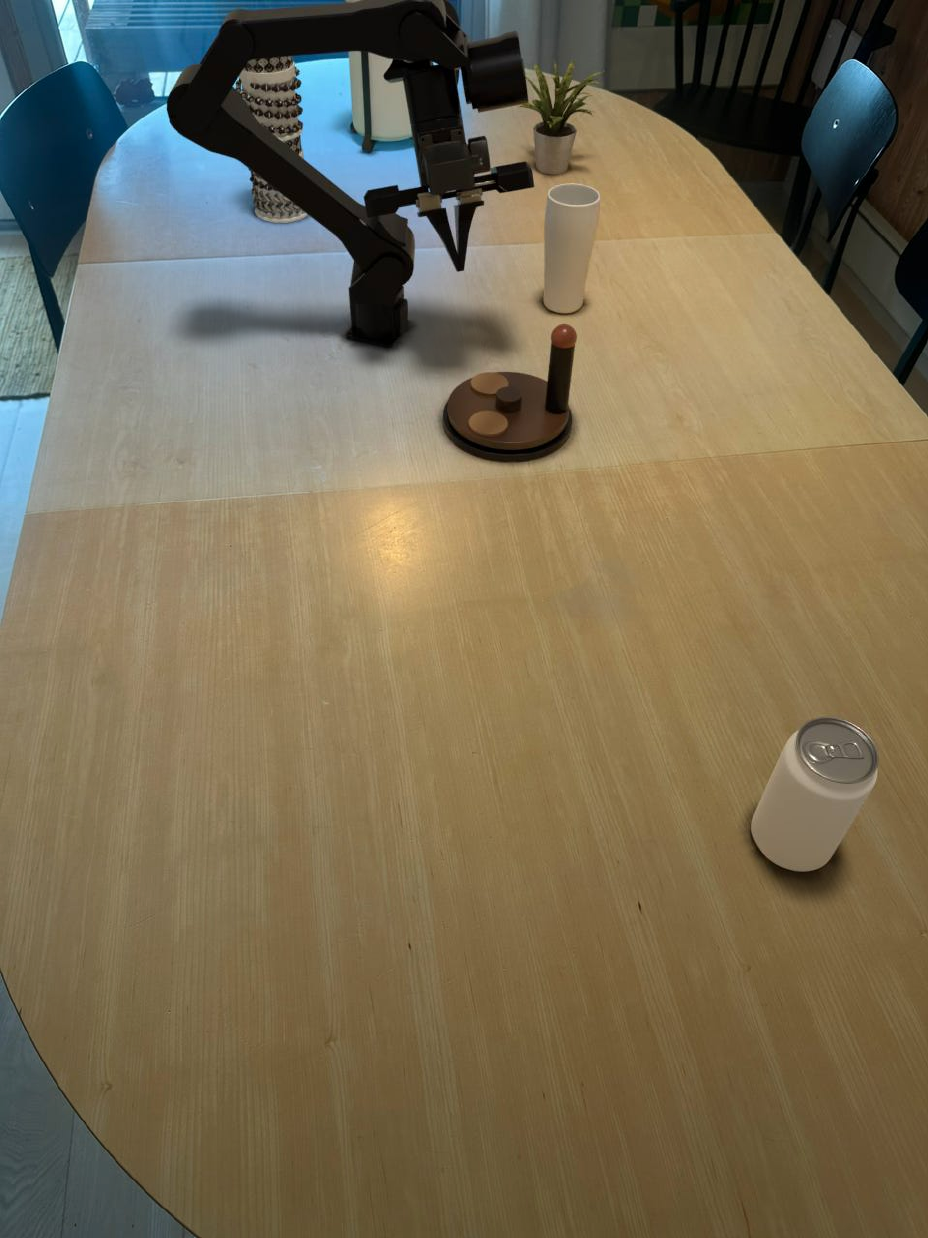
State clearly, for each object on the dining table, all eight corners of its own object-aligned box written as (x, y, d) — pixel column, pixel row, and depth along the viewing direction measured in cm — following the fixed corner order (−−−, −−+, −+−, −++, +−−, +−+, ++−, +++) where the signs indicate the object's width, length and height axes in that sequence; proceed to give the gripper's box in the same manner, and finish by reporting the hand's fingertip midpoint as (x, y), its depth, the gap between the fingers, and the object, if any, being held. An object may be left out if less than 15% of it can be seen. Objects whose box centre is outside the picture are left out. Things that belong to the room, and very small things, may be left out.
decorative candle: (325, 206, 150) (310, 24, 131) (287, 229, 144) (265, 42, 126) (279, 192, 153) (258, 11, 135) (240, 213, 148) (212, 28, 129)
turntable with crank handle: (444, 447, 107) (445, 357, 99) (450, 376, 117) (451, 288, 108) (570, 452, 107) (582, 362, 99) (566, 380, 116) (576, 292, 108)
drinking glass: (584, 320, 128) (598, 208, 117) (534, 314, 129) (543, 202, 118) (590, 295, 133) (604, 185, 122) (541, 289, 134) (550, 179, 123)
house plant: (600, 190, 156) (614, 80, 144) (514, 188, 156) (521, 77, 144) (593, 154, 165) (606, 48, 153) (512, 152, 165) (519, 45, 153)
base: (422, 443, 110) (422, 435, 109) (470, 374, 119) (470, 367, 119) (548, 475, 106) (549, 468, 105) (587, 402, 116) (588, 395, 115)
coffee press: (403, 164, 161) (398, -50, 139) (327, 142, 167) (311, -68, 145) (460, 131, 171) (464, -73, 149) (387, 111, 177) (380, -89, 155)
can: (739, 804, 78) (778, 714, 69) (817, 799, 79) (865, 709, 70) (763, 877, 74) (807, 791, 65) (845, 871, 74) (900, 785, 65)
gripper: (351, 130, 98) (382, 290, 104) (532, 97, 98) (552, 259, 105) (352, 138, 108) (380, 284, 114) (515, 108, 109) (535, 255, 115)
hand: (460, 270), depth 112 cm, fingers closed
